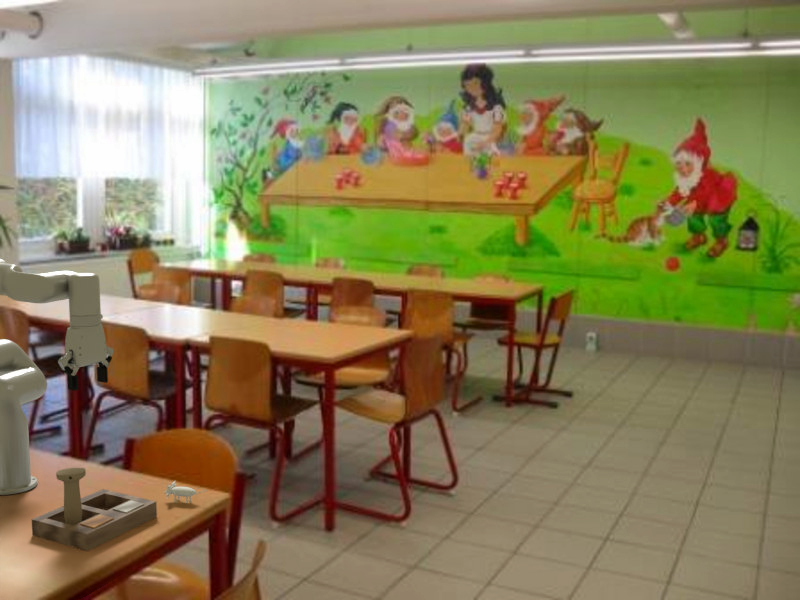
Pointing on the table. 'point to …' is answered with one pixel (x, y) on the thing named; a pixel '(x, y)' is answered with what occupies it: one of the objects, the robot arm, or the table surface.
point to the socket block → (96, 519)
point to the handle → (72, 494)
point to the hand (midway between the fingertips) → (88, 385)
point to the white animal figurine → (180, 491)
